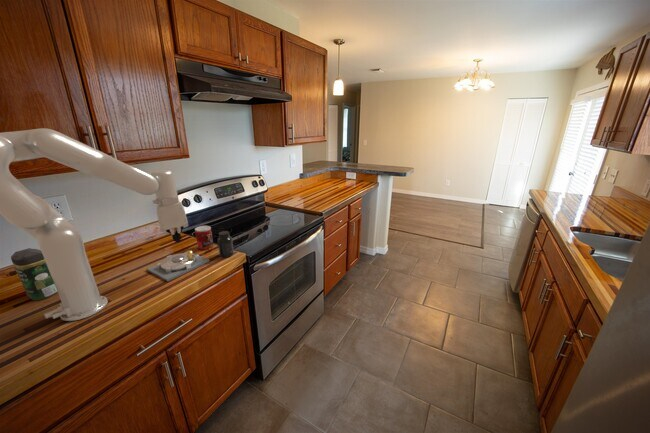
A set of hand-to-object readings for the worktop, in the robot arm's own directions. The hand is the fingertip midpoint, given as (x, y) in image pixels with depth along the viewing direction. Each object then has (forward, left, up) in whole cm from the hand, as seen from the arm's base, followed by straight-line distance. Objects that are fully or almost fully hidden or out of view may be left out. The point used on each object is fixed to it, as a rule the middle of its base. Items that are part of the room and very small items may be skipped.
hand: (177, 241), depth 113 cm
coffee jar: (-39, +29, -14) cm, 51 cm away
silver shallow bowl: (+1, +6, -13) cm, 14 cm away
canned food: (+20, +13, -14) cm, 28 cm away
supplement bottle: (+20, -4, -14) cm, 25 cm away
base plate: (+1, +6, -14) cm, 15 cm away
